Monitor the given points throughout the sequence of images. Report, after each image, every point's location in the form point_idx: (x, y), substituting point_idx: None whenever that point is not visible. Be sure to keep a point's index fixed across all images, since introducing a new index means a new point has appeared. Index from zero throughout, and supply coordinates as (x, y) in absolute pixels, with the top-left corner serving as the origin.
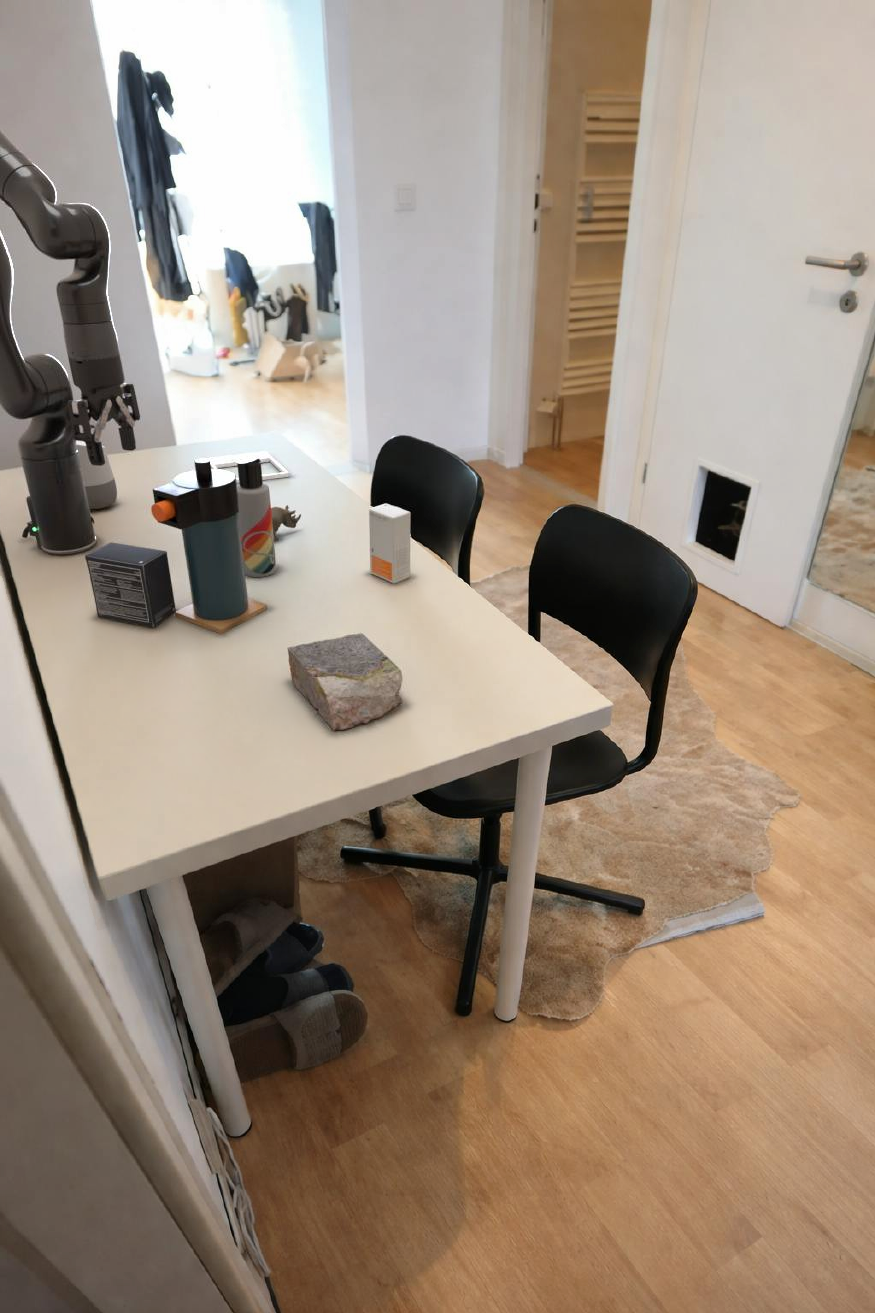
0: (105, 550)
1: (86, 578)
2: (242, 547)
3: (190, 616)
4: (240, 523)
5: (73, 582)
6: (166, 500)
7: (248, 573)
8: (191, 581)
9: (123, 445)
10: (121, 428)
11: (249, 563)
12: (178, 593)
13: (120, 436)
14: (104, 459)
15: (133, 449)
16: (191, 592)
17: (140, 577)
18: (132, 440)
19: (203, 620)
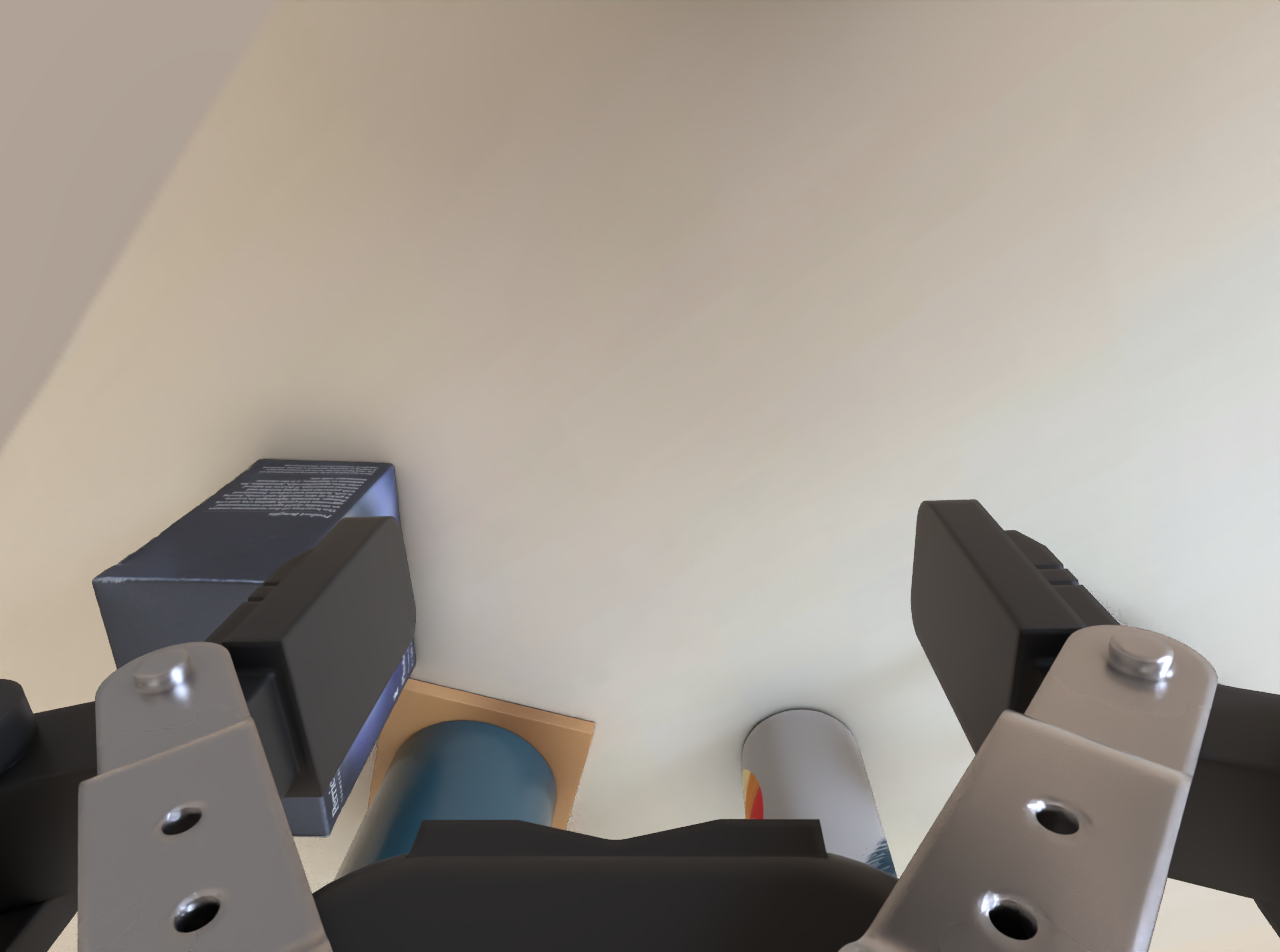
0: (179, 634)
1: (497, 184)
2: (757, 813)
3: (385, 737)
4: None
5: (439, 155)
6: None
7: (743, 750)
8: (349, 848)
9: (930, 536)
10: (1004, 674)
11: (743, 789)
12: (536, 601)
13: (967, 572)
14: (399, 659)
15: (913, 623)
16: (377, 797)
17: None
18: (948, 687)
19: (382, 778)
